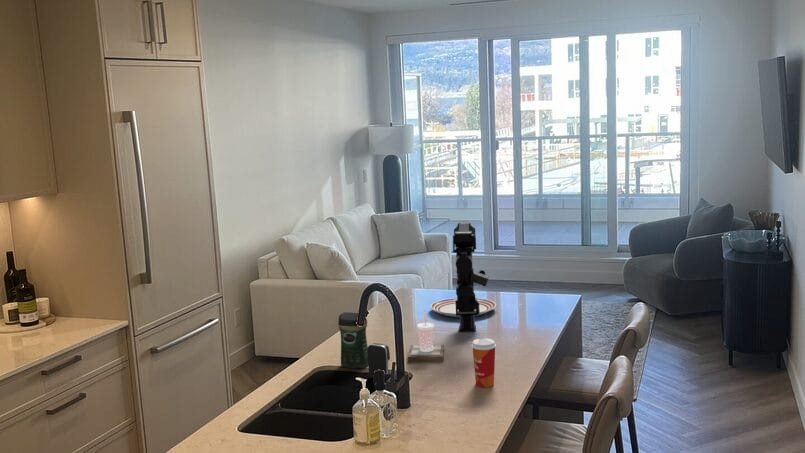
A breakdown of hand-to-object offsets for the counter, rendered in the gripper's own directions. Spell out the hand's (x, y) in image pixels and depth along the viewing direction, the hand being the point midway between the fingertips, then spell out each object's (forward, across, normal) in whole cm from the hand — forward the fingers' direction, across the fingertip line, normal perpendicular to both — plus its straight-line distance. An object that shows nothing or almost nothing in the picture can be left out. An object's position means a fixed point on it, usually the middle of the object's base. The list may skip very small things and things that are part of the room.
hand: (465, 307), depth 285 cm
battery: (+13, -35, +28) cm, 47 cm away
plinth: (+13, -15, +14) cm, 24 cm away
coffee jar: (+13, -23, +38) cm, 46 cm away
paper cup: (+13, -42, -6) cm, 44 cm away
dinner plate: (+13, +40, +2) cm, 42 cm away
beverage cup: (+11, -15, +14) cm, 23 cm away
